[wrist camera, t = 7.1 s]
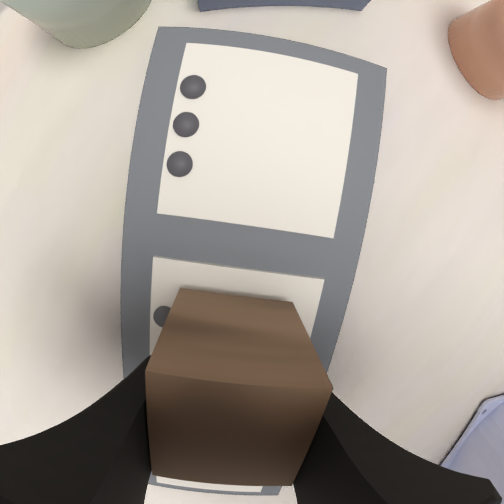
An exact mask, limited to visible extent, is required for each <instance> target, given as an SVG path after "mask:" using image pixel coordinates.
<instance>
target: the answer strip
mask: <svg viewBox="0 0 504 504" xmlns="http://www.w3.org/2000/svg"><path fill="white" fill-rule="evenodd" d="M386 74H387V68H385V67H382V66H379V65H376V64H373V63H371V62H368V61H365V60H362V59H359V58H355V57H352V56H349V55H346V54H342V53H339V52H335V51H332V50H328V49H325V48H321V47H317V46H313V45H309V44H304V43H300V42H295V41H291V40H286V39H281V38H275V37H270V36H264V35H258V34H251V33H244V32H236V31H228V30H218V29H206V28H190V27H158V31H157V34H156V38H155V41H154V45H153V49H152V52H151V56H150V60H149V64H148V68H147V73H146V77H145V81H144V86H143V91H142V95H141V100H140V105H139V110H138V116H137V121H136V127H135V133H134V139H133V145H132V152H131V159H130V167H129V174H128V183H127V192H126V202H125V213H124V226H123V242H122V263H121V337H122V358H123V373H124V379H125V378H126V377H127V376H128V375H129V374H130V373H131V372H132V371H133V370H134V369H135V368H136V367H137V366H138V365H139V364H140V363H141V362H142V361H143V360H144V359H145V358H146V357H148V356H149V355H152V352H153V350H154V347H155V345H156V343H157V340H158V338H159V335H160V333H161V331H162V328H163V326H164V323H165V321H166V319H167V316H168V314H169V312H170V309H171V307H172V305H173V302H174V300H175V298H176V296H177V293H178V291H179V289H180V288H186V289H193V290H200V291H208V292H215V293H223V294H230V295H238V296H246V297H254V298H263V299H272V300H280V301H290V302H293V304H294V306H295V308H296V310H297V312H298V314H299V316H300V318H301V320H302V323H303V325H304V327H305V329H306V331H307V333H308V335H309V337H310V339H311V342H312V344H313V346H314V348H315V350H316V352H317V354H318V357H319V359H320V361H321V363H322V365H323V367H324V369H325V371H326V373H327V370H328V367H329V364H330V361H331V358H332V355H333V352H334V349H335V345H336V342H337V339H338V335H339V332H340V329H341V325H342V322H343V318H344V315H345V311H346V307H347V304H348V300H349V296H350V292H351V289H352V285H353V281H354V277H355V272H356V268H357V264H358V260H359V255H360V251H361V246H362V242H363V237H364V232H365V228H366V223H367V218H368V212H369V207H370V202H371V196H372V190H373V185H374V178H375V172H376V166H377V159H378V152H379V144H380V137H381V128H382V120H383V110H384V100H385V88H386ZM148 484H151V485H156V486H162V487H167V488H174V489H181V490H188V491H196V492H206V493H217V494H232V495H278V494H279V492H280V489H281V487H282V486H239V485H223V484H211V483H201V482H192V481H185V480H178V479H171V478H165V477H159V476H154V475H152V471H151V475H150V478H149V481H148Z"/></svg>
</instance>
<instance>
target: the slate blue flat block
mask: <svg viewBox="0 0 504 504" xmlns="http://www.w3.org/2000/svg"><path fill="white" fill-rule="evenodd" d="M370 1H371V0H198V4H199V9H200V12H202V11H209V10H218V9H227V8H239V7H255V6H313V7H329V8H340V9H350V10H358V11H362V10H363V8H364V7H365V6H366V5H367V4H368V3H369V2H370Z"/></svg>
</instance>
